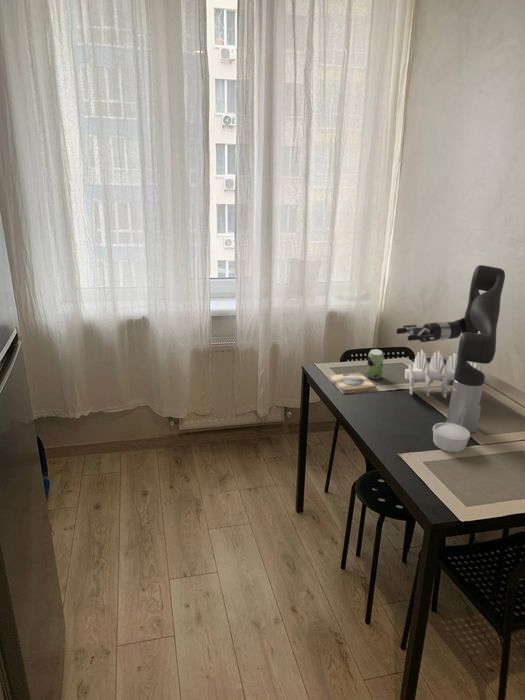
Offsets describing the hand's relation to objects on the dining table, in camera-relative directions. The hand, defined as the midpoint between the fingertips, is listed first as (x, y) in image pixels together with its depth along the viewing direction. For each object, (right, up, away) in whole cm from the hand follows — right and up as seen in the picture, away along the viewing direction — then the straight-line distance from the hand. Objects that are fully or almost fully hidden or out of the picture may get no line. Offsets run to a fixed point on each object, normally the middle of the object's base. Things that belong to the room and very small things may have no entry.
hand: (402, 334), depth 208 cm
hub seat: (-21, -20, -4) cm, 30 cm away
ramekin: (+2, -37, -46) cm, 59 cm away
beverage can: (-11, -18, +3) cm, 21 cm away
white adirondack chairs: (+10, -24, -11) cm, 28 cm away
